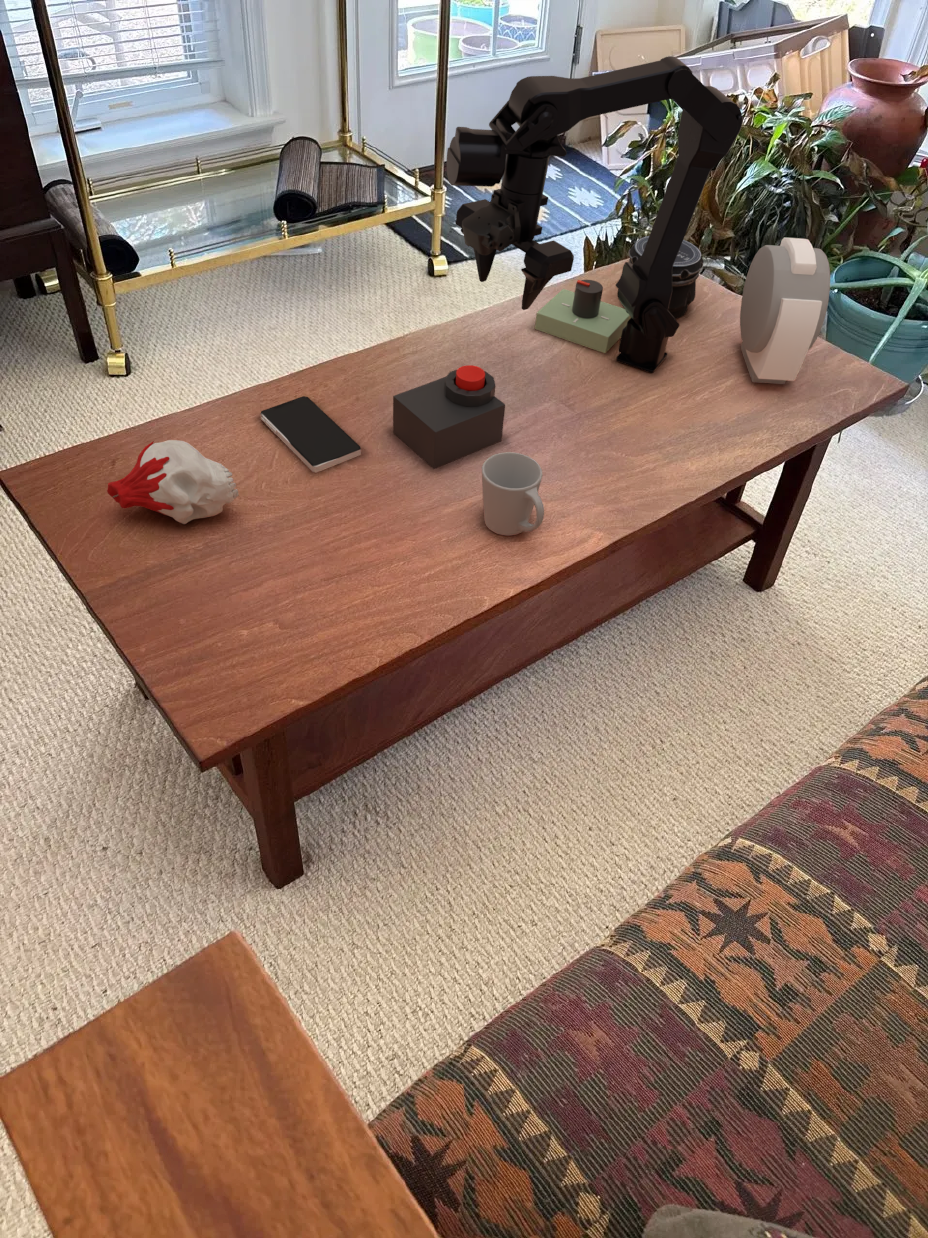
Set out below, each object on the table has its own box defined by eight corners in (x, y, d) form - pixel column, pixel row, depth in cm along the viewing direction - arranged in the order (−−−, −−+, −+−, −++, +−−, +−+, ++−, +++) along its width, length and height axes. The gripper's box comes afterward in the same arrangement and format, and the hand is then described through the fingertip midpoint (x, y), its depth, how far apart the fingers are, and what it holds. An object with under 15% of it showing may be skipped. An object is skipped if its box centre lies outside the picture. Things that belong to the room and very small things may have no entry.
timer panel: (629, 327, 160) (633, 310, 157) (605, 353, 154) (608, 336, 151) (561, 304, 164) (563, 287, 161) (534, 328, 158) (536, 311, 155)
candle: (246, 517, 121) (129, 555, 117) (225, 464, 127) (114, 499, 124) (229, 462, 114) (104, 501, 110) (207, 410, 120) (89, 445, 117)
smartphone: (313, 467, 127) (257, 411, 135) (313, 474, 128) (258, 418, 136) (363, 447, 131) (306, 394, 139) (363, 454, 132) (307, 401, 140)
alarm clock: (799, 398, 148) (845, 275, 133) (745, 394, 148) (785, 271, 133) (776, 337, 160) (815, 219, 145) (726, 334, 160) (760, 215, 145)
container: (698, 296, 168) (712, 241, 161) (683, 330, 160) (697, 274, 153) (629, 280, 171) (639, 225, 164) (610, 312, 163) (620, 256, 155)
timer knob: (602, 310, 157) (607, 282, 154) (591, 321, 154) (596, 293, 151) (579, 302, 158) (583, 274, 155) (567, 313, 156) (571, 285, 152)
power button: (472, 372, 134) (473, 361, 132) (490, 386, 132) (491, 375, 130) (449, 381, 132) (450, 370, 131) (467, 395, 130) (467, 384, 128)
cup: (510, 496, 127) (516, 444, 121) (558, 538, 122) (568, 486, 116) (465, 516, 124) (469, 464, 118) (513, 560, 119) (520, 508, 113)
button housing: (464, 404, 141) (468, 357, 136) (506, 438, 136) (512, 391, 130) (392, 432, 136) (393, 384, 130) (433, 469, 130) (435, 420, 125)
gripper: (432, 168, 127) (420, 278, 138) (526, 225, 118) (506, 337, 129) (493, 156, 133) (477, 263, 144) (587, 210, 124) (562, 319, 135)
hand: (503, 294), depth 138 cm, fingers open, 9 cm apart
